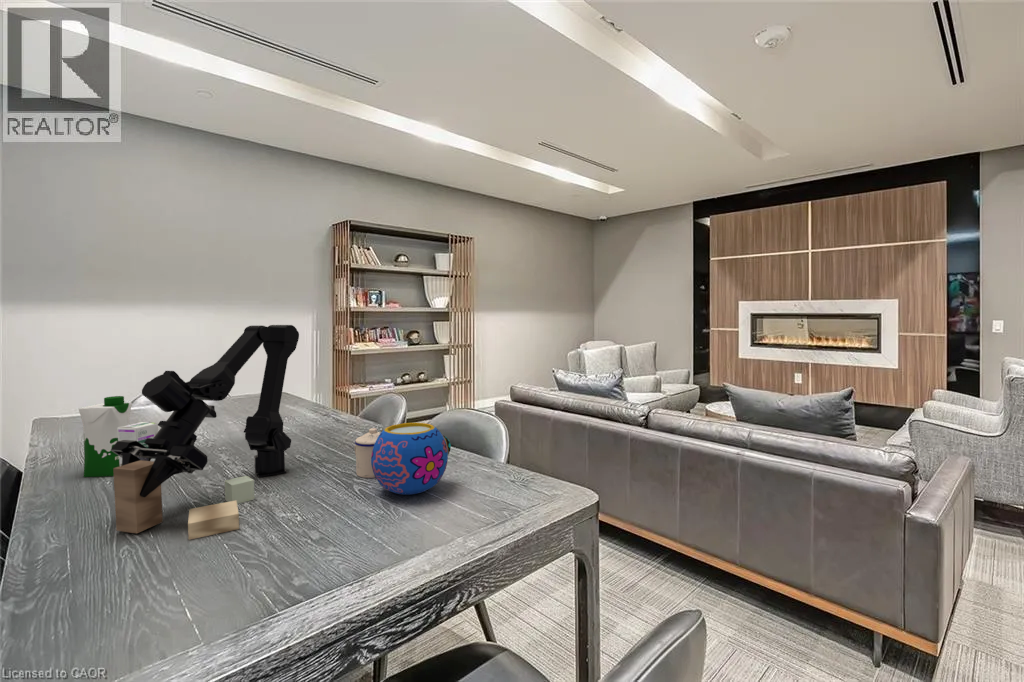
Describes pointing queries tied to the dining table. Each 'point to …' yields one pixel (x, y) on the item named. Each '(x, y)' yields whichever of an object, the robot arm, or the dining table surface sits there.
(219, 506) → the oak slab
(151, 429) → the syrup box
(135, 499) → the walnut block
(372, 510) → the dining table surface
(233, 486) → the sage cube
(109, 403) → the milk carton
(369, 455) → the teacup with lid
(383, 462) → the ceramic pot
